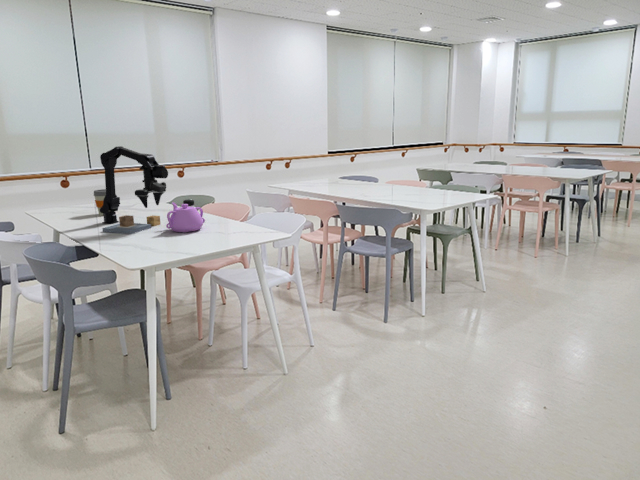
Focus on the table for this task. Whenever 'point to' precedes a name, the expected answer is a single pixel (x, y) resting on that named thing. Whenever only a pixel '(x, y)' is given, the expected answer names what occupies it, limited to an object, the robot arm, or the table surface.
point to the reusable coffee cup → (99, 198)
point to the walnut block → (126, 221)
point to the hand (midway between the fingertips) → (152, 206)
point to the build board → (127, 228)
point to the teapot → (185, 218)
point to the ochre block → (153, 220)
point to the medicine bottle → (189, 203)
